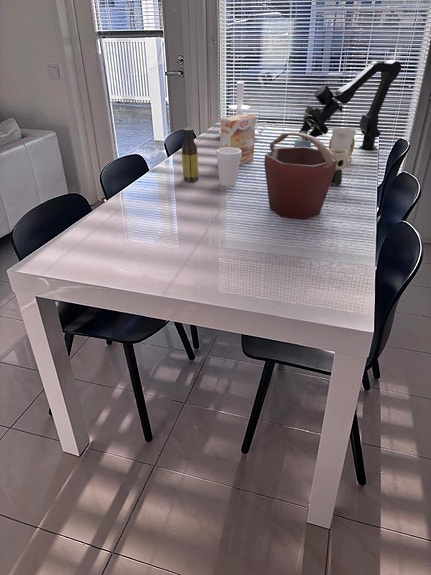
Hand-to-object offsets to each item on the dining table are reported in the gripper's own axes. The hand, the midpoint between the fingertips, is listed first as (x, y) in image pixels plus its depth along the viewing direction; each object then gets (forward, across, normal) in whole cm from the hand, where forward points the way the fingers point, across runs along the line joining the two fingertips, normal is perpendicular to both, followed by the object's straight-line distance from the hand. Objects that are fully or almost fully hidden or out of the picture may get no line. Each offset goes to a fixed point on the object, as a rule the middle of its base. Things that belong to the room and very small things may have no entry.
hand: (302, 137), depth 207 cm
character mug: (+8, +46, +2) cm, 47 cm away
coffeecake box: (+30, +12, -20) cm, 38 cm away
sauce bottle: (+47, +31, -37) cm, 67 cm away
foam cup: (+37, +38, -27) cm, 60 cm away
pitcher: (-4, +16, +14) cm, 22 cm away
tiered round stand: (+4, 0, +5) cm, 7 cm away
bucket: (+25, +68, -15) cm, 74 cm away
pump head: (0, 0, +1) cm, 1 cm away
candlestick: (+20, -31, -10) cm, 38 cm away
